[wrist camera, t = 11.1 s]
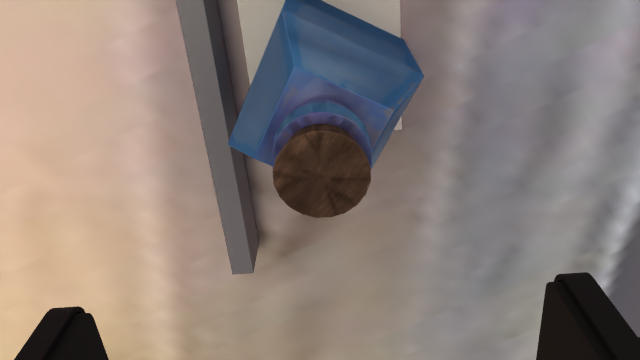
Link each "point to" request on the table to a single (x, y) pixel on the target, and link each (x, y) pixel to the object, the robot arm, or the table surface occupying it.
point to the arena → (219, 106)
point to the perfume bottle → (324, 105)
